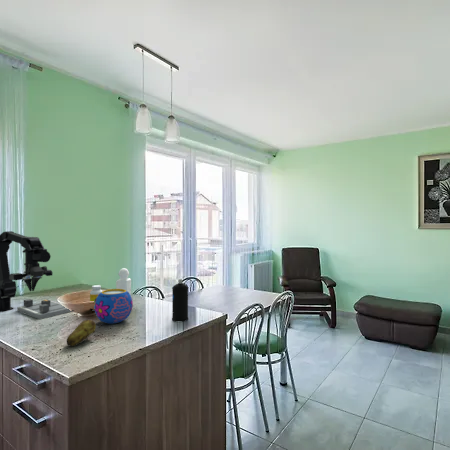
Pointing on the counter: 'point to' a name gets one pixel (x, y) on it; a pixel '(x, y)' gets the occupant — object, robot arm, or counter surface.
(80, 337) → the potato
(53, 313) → the panel
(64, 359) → the counter surface
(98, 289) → the supplement bottle
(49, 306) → the handle
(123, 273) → the white figurine
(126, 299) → the ceramic pot
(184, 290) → the aerosol can
